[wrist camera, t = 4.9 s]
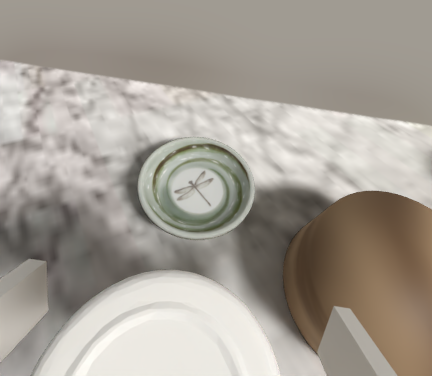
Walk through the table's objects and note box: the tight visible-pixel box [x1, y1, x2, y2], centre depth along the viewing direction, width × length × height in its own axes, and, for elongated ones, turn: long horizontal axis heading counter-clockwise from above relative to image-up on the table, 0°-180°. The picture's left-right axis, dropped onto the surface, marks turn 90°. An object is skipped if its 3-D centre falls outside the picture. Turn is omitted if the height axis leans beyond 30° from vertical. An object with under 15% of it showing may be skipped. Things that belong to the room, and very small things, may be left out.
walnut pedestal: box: [283, 191, 432, 376], centre depth 16 cm, size 12×12×5 cm
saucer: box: [137, 137, 255, 240], centre depth 20 cm, size 10×10×2 cm
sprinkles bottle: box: [31, 269, 281, 376], centre depth 9 cm, size 5×5×14 cm
